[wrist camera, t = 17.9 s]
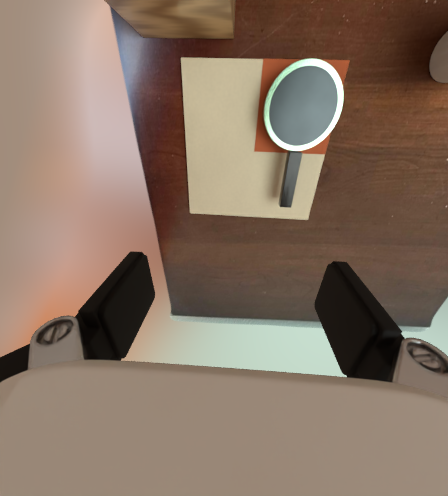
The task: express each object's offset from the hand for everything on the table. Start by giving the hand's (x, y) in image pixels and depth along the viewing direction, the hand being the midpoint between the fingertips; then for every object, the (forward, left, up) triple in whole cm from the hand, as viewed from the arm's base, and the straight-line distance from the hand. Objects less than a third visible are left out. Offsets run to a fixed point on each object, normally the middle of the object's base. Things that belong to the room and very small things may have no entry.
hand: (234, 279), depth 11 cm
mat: (+2, +4, -28) cm, 28 cm away
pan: (+8, +5, -27) cm, 29 cm away
